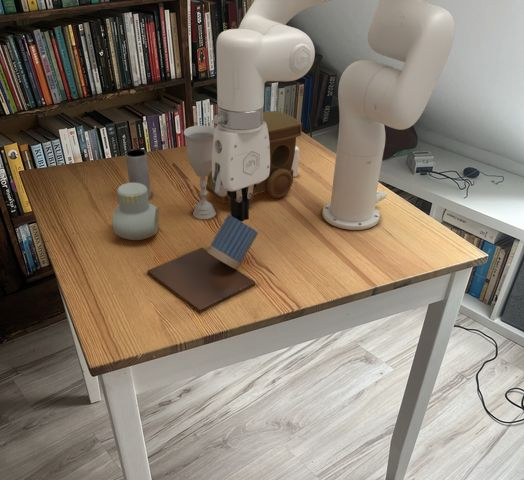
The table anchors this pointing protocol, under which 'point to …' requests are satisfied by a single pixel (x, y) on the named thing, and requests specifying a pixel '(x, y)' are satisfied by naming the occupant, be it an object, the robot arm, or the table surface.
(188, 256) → the walnut board
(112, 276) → the table surface
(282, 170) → the wooden toy train
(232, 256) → the tea cup
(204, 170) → the chalice
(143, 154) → the grey pipe
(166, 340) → the table surface
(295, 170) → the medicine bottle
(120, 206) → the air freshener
